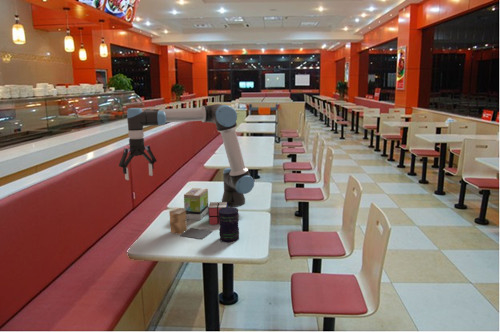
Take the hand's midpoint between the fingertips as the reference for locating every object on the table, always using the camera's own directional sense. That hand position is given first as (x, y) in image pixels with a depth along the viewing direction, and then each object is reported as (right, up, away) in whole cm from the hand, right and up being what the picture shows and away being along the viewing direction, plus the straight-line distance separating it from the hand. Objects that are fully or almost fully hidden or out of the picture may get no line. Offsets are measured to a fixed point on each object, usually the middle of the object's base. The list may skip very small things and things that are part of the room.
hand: (139, 177), depth 211 cm
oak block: (+22, -28, -2) cm, 36 cm away
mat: (+31, -29, -6) cm, 43 cm away
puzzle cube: (+42, -25, +10) cm, 50 cm away
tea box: (+28, -23, +21) cm, 42 cm away
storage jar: (+49, -30, -13) cm, 59 cm away
